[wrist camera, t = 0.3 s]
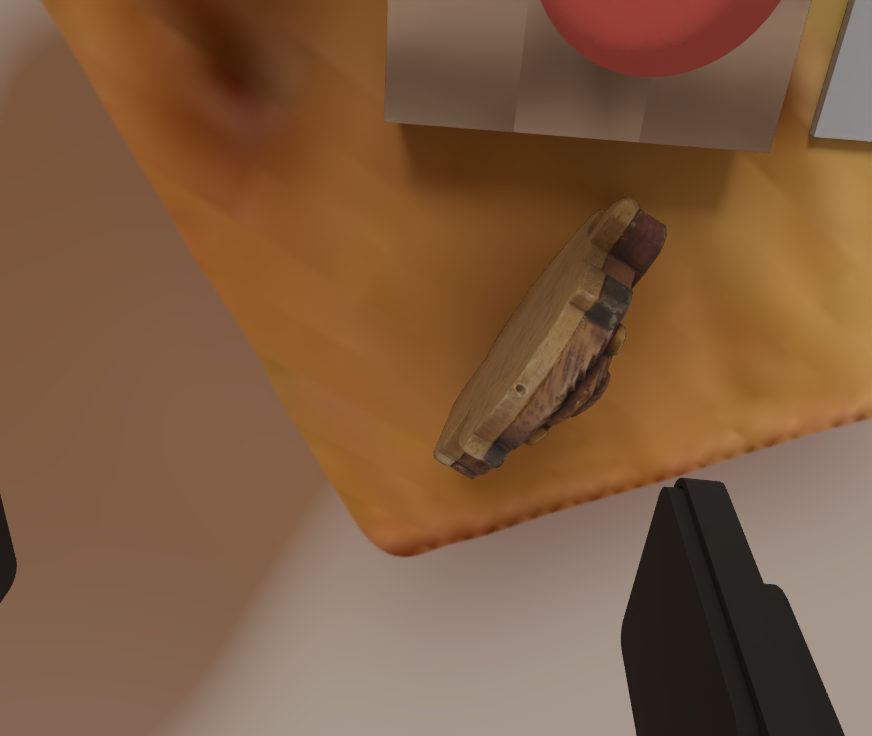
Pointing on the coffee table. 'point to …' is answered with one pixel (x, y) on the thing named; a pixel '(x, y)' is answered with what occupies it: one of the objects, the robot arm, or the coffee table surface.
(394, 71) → the eye block
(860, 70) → the mat
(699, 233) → the coffee table surface
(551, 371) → the wooden carving
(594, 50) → the peg
